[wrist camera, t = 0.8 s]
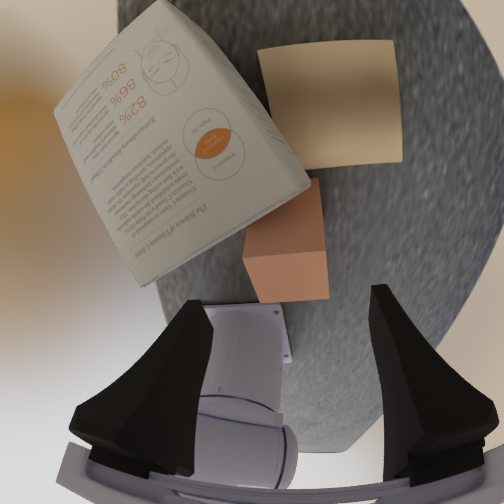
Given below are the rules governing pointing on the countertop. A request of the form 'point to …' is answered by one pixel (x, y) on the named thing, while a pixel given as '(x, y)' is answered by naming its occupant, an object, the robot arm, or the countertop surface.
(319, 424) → the countertop surface
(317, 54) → the base slab
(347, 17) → the countertop surface
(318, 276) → the block
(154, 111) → the small box
